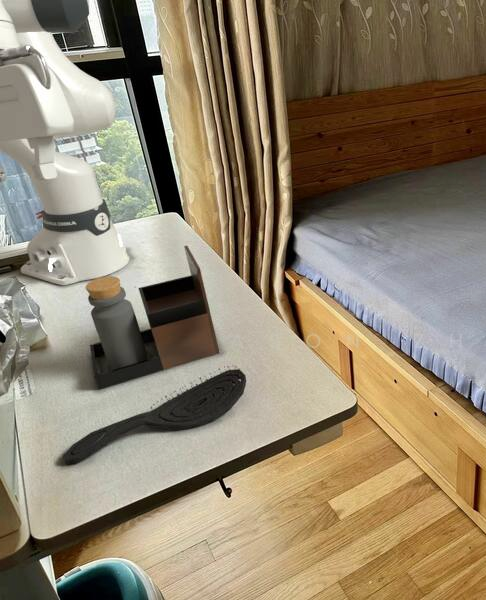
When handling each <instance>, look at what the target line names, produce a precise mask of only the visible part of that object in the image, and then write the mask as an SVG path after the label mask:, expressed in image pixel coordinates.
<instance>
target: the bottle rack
mask: <svg viewBox="0 0 486 600" xmlns="http://www.w3.org/2000/svg"><path fill="white" fill-rule="evenodd" d="M183 247H184V251H185V255H186V260H187V262H188V263H187V264H188V268H189V272H190V275H187V276H182V277H178V278H175V279H174V278H173V279H170V280H165V281H162V282H157V283H154V284H149V285H145V286H142V287H141V286H140V287H138V289H137V290H138V291H139V296H140V298H141V301H142V306H143V308H144V311H145V315H146V318H147V322H148V324H149V328H147V329H142V330H140V331H141V335H142V338H143V341H144V344H145V345H147V344H151V343H154V344H155V347H156V350H157V354H158V356H156V357H152V358H148V360H145V361H141V362H138V363H135V364H131V365H128V366H124V367H121V368H118V369H114V370H111V369H110V370H108V371H105V372H101V371H100V363H99V358H101V357H106V355H105V352H104V349H103V347H102V344H101V341H99V342H95V343H91V344H89V350H90V357H91V358H90V359H91V365H92V366H91V367H92V373H93V379H94V381H95V384H96V386H97V389H98V390H99V391H100V390H102V389H103V390H104V389H106V388H109V387H112V386H117V385H119V384H123V383H127V382H130V381H133V380H136V379H139V378H142V377H146V376H149V375H152V374H155V373H159V372H163V371H165V370H169V369H171V368H172V369H173V368H176V367H178V366H182V365H184V364H188V363H191V362H195V361H198V360H201V359H204V358H207V357H208V358H209V357H211V356H215V355H219V354H220V348H219V344H218V340H217V335H216V331H215V326H214V322H213V319H212V318H213V317H212V314H211V309H210V306H209V301H208V296H207V292H206V288H205V284H204V283H205V282H204V278H203V276H202V275H203V274H202V271H201V267H200V266H199V264H198V262H197V260H196V258H195V257H194V255H193V253H192V251H191V250H190V248H189V246H188V245H183Z"/></svg>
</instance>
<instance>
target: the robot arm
mask: <svg viewBox="0 0 486 600" xmlns="http://www.w3.org/2000/svg"><path fill="white" fill-rule="evenodd" d="M89 15H90V0H0V152H1V153H3V154H5V155H7V156H8V157H9V158H11V159H12V160H13V161H14V162H16V163H17V164H18V165H19V166H20V167H21V168H22V169H23V170H24V172H25V173H26V175H27V176H28V178H29V179H30V181H31V183H32V186H33V187H34V190H35V191H36V194H37V196H38V198H39V201H40V203H41V206H42V208H43V210H41V211H39V212H36V213H35V216H37V217H36V219H37V220H38V219H41V218H42V228H41V229H39V231H38V232H37V233H36V234H35V235H34V236H33V237H32V238H31V239H30V240H29V242H28V243H27V247H26V250H27V254H28V258H29V260H28V261H26V262H25V263H24V264H23V265H22V266H21V267H20V273H21V274H23V275H26V276H29V277H33V278H36V279H38V280H39V279H40V280H42V281H46V282H49V283H52V284H56V285H59V286H68V285H71V284H72V285H73V284H76V283H78V282H82V281H89V280H95V279H97V278H101V277H106V276H109V275H111V274H113V273H116V272H117V271H119V270H121V269H123V268H124V267H125V266H127V265H128V263H129V262H130V256H129V254H128V253H127V248H126V245H125V244H123V241H122V238H121V235H120V234H118V232H117V229H116V227H115V225H114V223H113V221H112V219H111V213H110V211H109V206H108V205H107V202H106V200H105V199H104V198H103V196H102V193H101V190H100V186H99V182H98V180H97V176H96V173H95V170H94V168H93V167H92V166H91V164H89V162H87V161H86V160H84V159H82V158H80V157H77V156H74V155H71V154H67V153H62V152H59V151H57V150H56V149H57V145H56V143H55V140H59V139H66V138H74V137H80V136H89V135H91V134H95V133H98V132H100V131H101V132H102V131H103V130H106V129H109V128H111V127H112V125H113V123H114V121H115V119H116V115H117V107H116V106H117V105H116V102H115V99H114V96H113V94H112V93H111V91H110V90H109V89H108V87H107V86H106V85H105V84H104V83H103V82H101V81H100V80H99V79H97V78H95V77H93V76H92V75H90V74H88V73H86V72H85V71H83V70H81V69H80V68H79V67H78V66H77V65H76V64H74V63H73V62H72V61H71V59H69V58H68V57H67V56H66V55H65V53H64V52H63V51H62V49H61V48H60V46H59V45H58V43H57V41H56V40H55V38H54V35H53V34H54V33H57V34H74V33H76V32H77V31H78V29H80V27H82V25H83V24H84V23H85V22H86V20H87V19H88V17H89ZM6 181H7V175H6V174H5V170H4V168H3V166H0V183H3V182H6Z"/></svg>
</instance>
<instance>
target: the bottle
mask: <svg viewBox="0 0 486 600" xmlns="http://www.w3.org/2000/svg"><path fill="white" fill-rule="evenodd" d="M85 289H86V291H87V292H88V294H89V295H88V296H87V300H88V303H89V304H90V306H93V307H92V310H91V311H90V315H91V319H92V321H93V324H94V327H95V330H96V333H97V336H98V339H99V342H101V344H102V347H103V349H104V352H105V357H106V360H107V363H108V365H109V369H110V371H111V370H114V369H118V368H121V367H124V366H128V365H131V364H135V363H138V362H141V361H145V360H148V359H149V354H148V351H147V347H146V344H144V341H143V338H142V335H141V331H142V330H141V328H140V325H139V322H138V319H137V316H136V313H135V310H134V306H133V304H132V302H131V301H130V300H128V299H126V296H127V292H126V291H125V288H124V287H122V286H121V279H120V278H119V277H118V276H113V275H105V276H102V277H99V278H94V279H91V280H90V281H89V282H88V283H87V284H85Z"/></svg>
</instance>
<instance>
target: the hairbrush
mask: <svg viewBox="0 0 486 600" xmlns="http://www.w3.org/2000/svg"><path fill="white" fill-rule="evenodd" d="M226 367H227V368H229V365H227V366H226ZM226 367H225V365H224V366H223V368H224V369H226ZM232 367H234V368H233V369H228V370H225V371H222V370H221V368H220V367H219V368H218V371H219V374H217V373H216V372H214V373H215V374H216V375H213V376H212V375H211V372H208V374H209V375H210V378H207V377H206V376H204V378H205V379H204V381H203V379H202V377H201V376H200V377H199V380H200V383H199V384H198V383H195V386H194V384H193V382H192V381H191V382H189V385H190V386H192V387H191V388H189V389H188V388H186V391H185V390H183V391H182V390H181V387H179V390H180V392H181V393H180V394H179V393H177V391H176V390H174V391H173V393H174V394H176V396H174V397H173V395H172V394H170V395H171V398H170V397H169V398H168V397H167V395H165V396H164V398H166V399H165V401H166V400H167V401H166V402H162V404H161V405H158V406H156V407H154V409H153V407H152V406H150V409H151V410H148V411H145V412H141V413H138V414H135V415H132V416H130V417H127V418H125V419H122V420H119V421H116V422H114V423H111V424H108V425H106V426H104V427H101V428H98V429H96V430H94V431H91V432H89V433H88V434H86V435H85V436H83V437H82V438H80V439H79V440H78V441H76V442H74V443H73V444H72V445H71V446H70V447H69V448H68V449H67V450H66V451H65V452H64V453H63V455H62V461H63V462H64V464H65V465H67V466H68V465H72V464H75V463H80V462H82V461H83V460H84V459H86V458H88V457H90V456H91V455H93V454H95V453H96V452H98V451H100V450H102V448H104V447H106V446H107V445H109V444H110V443H111V442H114V441H115V440H116V439H117V438H119V437H122V436H123V435H126V434H128V433H131V432H132V431H135V430H137V429H140V428H141V427H144V426H145V427H153V428H161V429H168V430H178V431H180V430H186V429H187V430H188V429H194V428H195V429H196V428H199V427H202V426H204V425H207V424H210V423H212V422H215V421H216V420H218V419H219V418H220V417H222V416H223V415H225V414H227V413H228V412H230V411H231V410H232V408H233V407H234V406H235V405H236V404H237V402H238V401H239V400H240V399H241V397H242V396H243V395H244V393H245V389H246V385H247V378H246V376H247V375H246V374H245V373H244V371H242V370H241V368H238V366H237V365H234V364H232ZM193 381H194V382H196V379H194V380H193ZM185 387H187V385H184V387H183V386H182V389H184V388H185ZM160 400H163V398H162V397H161V398H160ZM156 403H157V404H159V401H158V400H157V401H156ZM153 406H155V404H154V403H153Z"/></svg>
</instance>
